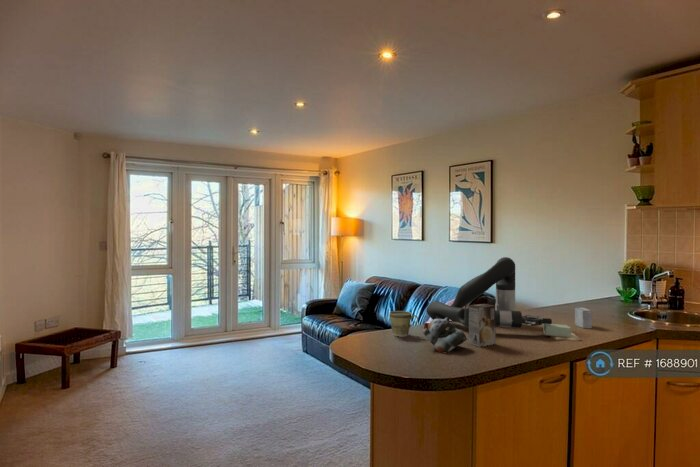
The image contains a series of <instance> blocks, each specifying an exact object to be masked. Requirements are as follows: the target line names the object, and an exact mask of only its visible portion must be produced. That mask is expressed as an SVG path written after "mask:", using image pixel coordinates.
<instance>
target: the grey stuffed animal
mask: <svg viewBox="0 0 700 467" xmlns="http://www.w3.org/2000/svg"><path fill="white" fill-rule="evenodd" d="M422 333H423V336H424V337H425V338H426V339H427V340H428V341H429V343H431V344H432V345H433V346H434V347H435V350H436V351H437V352H438V351H439V353H443V352H446V353H445V354H447V353H448V352H451V351H452V350H454V349H455V348H457V347H458V346H460V345H462V344H463V343H465V342H466V341H467V340H468V338H467V336H466V334H465V332H463V331H462V329H457V328H456V325H454V324H453V323H452V322H451V320H450V319H448V318H445V319H441V318H440V317H438V316H436V318H435V319H434V320H433V319H431V321H430V322H424V323H423V330H422Z"/></svg>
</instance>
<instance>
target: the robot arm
mask: <svg viewBox="0 0 700 467" xmlns="http://www.w3.org/2000/svg"><path fill="white" fill-rule="evenodd" d="M494 285H495V304H494V306H495V324H496V327H503V328H513V329H521V328H522V326H523V324H524V325H526V326H531V327H535V326H543V324H553V320H552V318H548V317H546V318H545V317H541V316H538V315H537V316H536V315H531V314H525V315H523V314H522V311H520V310H516V263H515V261H514V260H513V259H512V258H510V257H508V256H507V257H505V256H504V257H501V258H499V259H498V260H497V261H496V262H495V264H494V265H492V266H491V267H490V268H489V269H488V270H486V271H485V272H483V273H482V274H479V275H477V276H475V277H473V278H472V279H470V280H468V281H467V282H466V283H464V284H463V285H461V286H460V287H459V289H458V290H457V293H456V297H455V298H454V300H453V302H452V304H451V305H449V304H446V303H443V302H442V301H438V300H436V301H435V300H434V301H432V302H429V304H428V305H427V307H426V309H425V311H426V313H427V315H428V316H429V317H430V319H431V320H434V319H435V318H436V316H438V317H440V318H441V319H445V318H448V319H449V321H453V322H455V323H460V324H462V325H463V326H464V327H466V328H468V329H469V305H470V303H472V302H473V301H475V300H476V299H478V298H479V297H480V296H482V295H483V294H485V293H486V292H487V291H489V289H490V288H491V287H492V286H494Z"/></svg>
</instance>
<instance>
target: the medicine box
mask: <svg viewBox="0 0 700 467" xmlns="http://www.w3.org/2000/svg"><path fill="white" fill-rule="evenodd" d="M592 315H593V312H592V310H591V309H589V308H586V307H575V308H574V325H575V326H577V327H579V328H581V329H592V328H593V326H592V325H593V316H592Z"/></svg>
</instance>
